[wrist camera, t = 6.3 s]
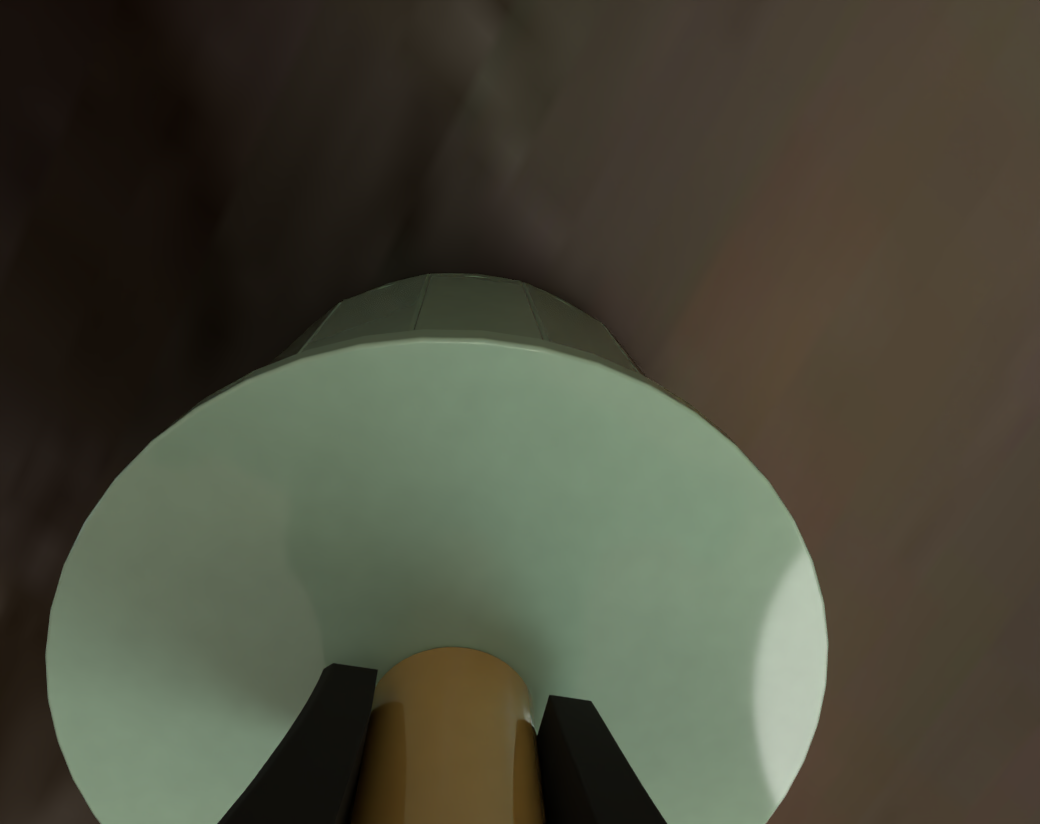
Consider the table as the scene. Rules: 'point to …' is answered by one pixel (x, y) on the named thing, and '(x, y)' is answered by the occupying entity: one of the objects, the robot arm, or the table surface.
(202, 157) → the table surface
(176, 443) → the lid
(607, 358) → the pot
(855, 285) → the table surface
